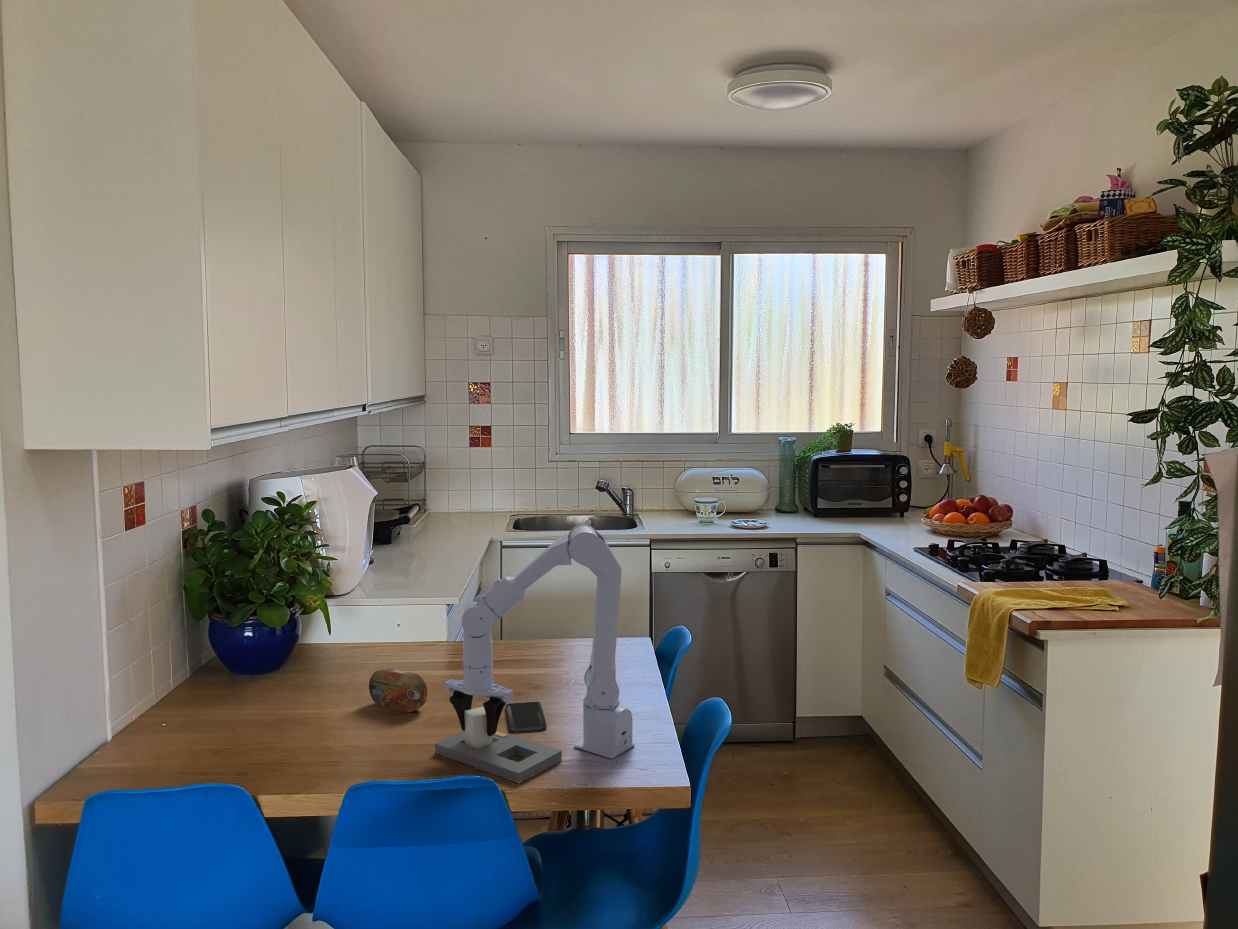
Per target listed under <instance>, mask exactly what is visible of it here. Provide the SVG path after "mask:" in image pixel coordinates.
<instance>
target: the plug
mask: <svg viewBox="0 0 1238 929" xmlns="http://www.w3.org/2000/svg"><path fill="white" fill-rule="evenodd" d="M464 719H465V745H468V746H471V747H474V748H477V749H481V748H483V747H485V746H487V745H489V744H491V743H493V741H492V736H488V734H487V719H486V713H485V709H484V706H479V707H476V708H475V707H474V708H471V710H466V711H464Z"/></svg>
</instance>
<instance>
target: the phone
mask: <svg viewBox="0 0 1238 929" xmlns="http://www.w3.org/2000/svg"><path fill="white" fill-rule="evenodd" d="M505 713H506V718H507V725H508V726H507V727H508V731H509V733H511V732H512V734H517V733H516V732H519V733H529V732H530V733H533V731H534V732H543V730H544V731H546V730H547V722H546V718H545V714H544V711H543V708H542V703H541V702H540V701H527V702H514V703H513V702H511V703H510V702H509V703H506V704H505Z"/></svg>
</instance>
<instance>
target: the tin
mask: <svg viewBox="0 0 1238 929" xmlns="http://www.w3.org/2000/svg"><path fill="white" fill-rule="evenodd" d="M427 688H428V687H427V683H426V681H425V680H424V678H422V676H421V675H419V674H417V673H416V672H413V671H412V672H410V671H404V670H399V669H396V668H395V669H393V668H384V669H378V670H376V671H374V673H372V674H371V676H370V678H369V682H368V690H369V694H370V697H371V700H372V701H373V702H374V703H375V704H376V705H377V706H379V707H380V706H383V707H382V708H384V707H386V708H385V709H389V708H390V709H389V710H394V709H395V710H394V711H399V712H404V713H413V712H415V711H416V710H419V709H421V708H423V706H424V705H425V704H426V702H427V698H428V689H427Z"/></svg>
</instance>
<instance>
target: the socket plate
mask: <svg viewBox="0 0 1238 929" xmlns="http://www.w3.org/2000/svg"><path fill="white" fill-rule="evenodd" d="M492 741H493V743H491V744H489V745H487V746H485V747H483V748H481V749H477V748H474V747H471V746H468V745H465V731H461V732H459V733H457V734H454V735H452V736H449V737H447V738H444V739H443V740H440V741H438V742H435V743H434V749H435V751H434V753H438V754H440V755H439V756H441V755H442V756H441V757H444V756H446V757H449V758H451V759H450V760H452V759H454V760H453V761H455V760H457V761H460V762H462V763H461V764H463V763H465V764H464V765H466V764H467V765H466V766H468V765H470V766H469V767H471V766H473V767H472V768H474V767H475V768H474V769H478V770H480V771H483V772H485V773H488V774H491V775H494V776H496V775H498V776H497V777H499V776H501V777H500V778H502V777H505V778H508V779H511V780H514V781H517V782H520V781H523V780H525V779H527V778H529V777H531V776H532V775H534V776H536V775H538V774H540V773H541V772H540V771H542V772H544V771H546V770H547V769H549V768H551V767H553V766H554V764H555V765H557V764H558V762H559V763H560V762H562V760H563V759H562V756H563V755H562V754H563V753H562V750H560V749H557V748H555V747H551V746H548V745H544V744H543V743H538V742H536V741H533V740H530V739H525V738H523V737H520V736H517V735H514V734H511V733H507V732H504V731H501V730H498V729H497V730H496V733H495V734H493V735H492ZM438 754H437V755H438ZM516 754H517V755H516ZM514 755H515V756H518V755H520V756H523V757H526V758H523V757H522V758H523V759H522V760H520V761H515V760H512V759H511V758H513V757H515V756H514ZM512 756H513V757H512ZM520 756H519V757H520ZM446 757H445V758H446ZM510 757H511V758H510ZM449 758H448V759H449ZM508 758H509V759H508ZM457 761H456V762H457ZM460 762H459V763H460ZM556 763H557V764H556ZM548 767H549V768H548ZM546 768H547V769H546ZM545 769H546V770H545ZM543 770H544V771H543ZM539 772H540V773H539ZM537 773H538V774H537ZM535 774H536V775H535ZM531 778H532V777H531ZM529 779H530V778H529ZM527 780H528V779H527ZM525 781H526V780H525ZM523 782H524V781H523Z"/></svg>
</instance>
